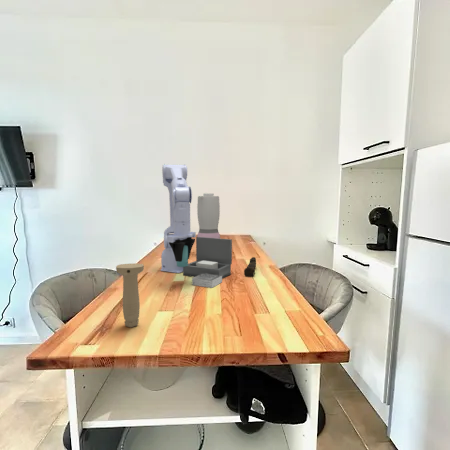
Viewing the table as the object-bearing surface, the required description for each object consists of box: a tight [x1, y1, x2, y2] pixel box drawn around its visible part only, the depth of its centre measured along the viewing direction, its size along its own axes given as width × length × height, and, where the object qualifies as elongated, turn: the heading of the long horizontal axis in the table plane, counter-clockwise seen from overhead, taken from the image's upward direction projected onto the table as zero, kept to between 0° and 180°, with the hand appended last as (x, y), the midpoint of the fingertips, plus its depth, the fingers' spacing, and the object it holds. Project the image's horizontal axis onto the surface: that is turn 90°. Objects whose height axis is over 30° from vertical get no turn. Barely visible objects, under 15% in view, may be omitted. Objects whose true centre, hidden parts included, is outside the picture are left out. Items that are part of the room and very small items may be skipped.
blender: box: [196, 192, 221, 239], centre depth 166 cm, size 16×12×32 cm
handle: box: [115, 262, 145, 328], centre depth 79 cm, size 5×6×15 cm
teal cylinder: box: [177, 245, 189, 267], centre depth 113 cm, size 4×4×7 cm
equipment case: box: [182, 236, 233, 280], centre depth 127 cm, size 16×11×14 cm
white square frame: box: [191, 273, 223, 289], centre depth 115 cm, size 8×8×2 cm
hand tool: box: [243, 257, 257, 278], centre depth 134 cm, size 19×4×5 cm, turn 167°
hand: (182, 260), depth 113 cm, fingers closed on teal cylinder, 4 cm apart
